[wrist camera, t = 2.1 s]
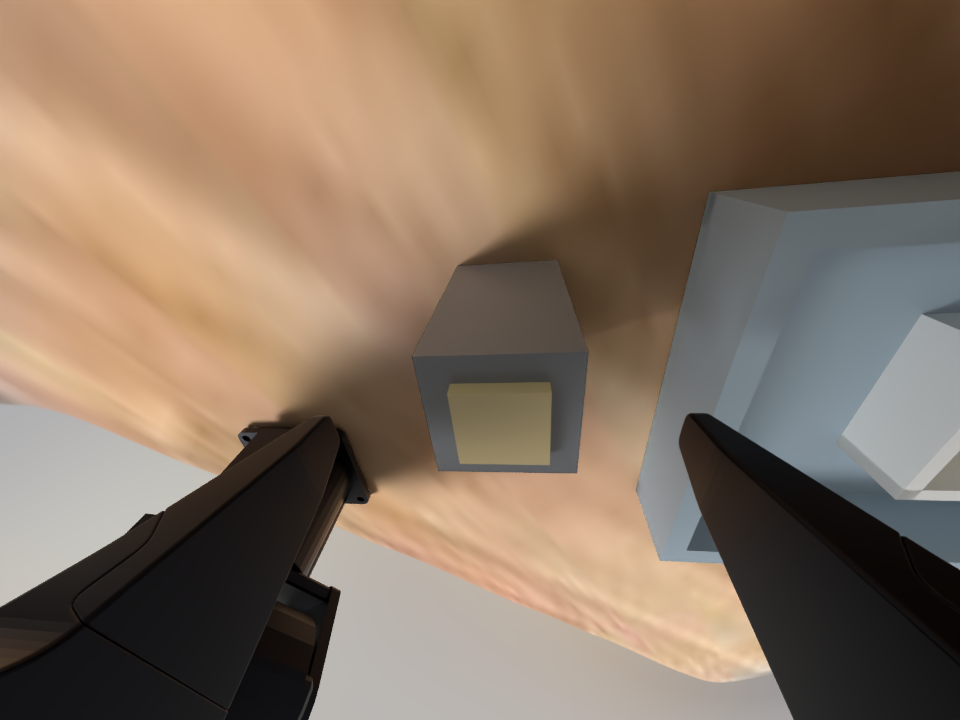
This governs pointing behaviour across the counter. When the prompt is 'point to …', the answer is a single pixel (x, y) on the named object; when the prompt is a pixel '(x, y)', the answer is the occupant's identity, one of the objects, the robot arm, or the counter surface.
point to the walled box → (803, 338)
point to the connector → (504, 371)
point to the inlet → (914, 416)
